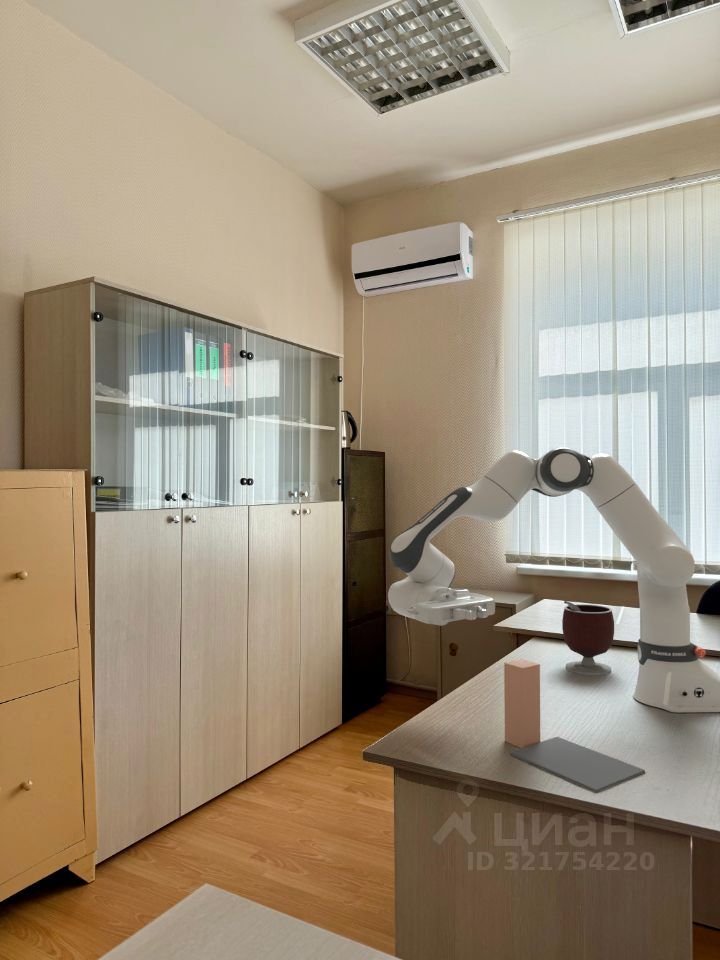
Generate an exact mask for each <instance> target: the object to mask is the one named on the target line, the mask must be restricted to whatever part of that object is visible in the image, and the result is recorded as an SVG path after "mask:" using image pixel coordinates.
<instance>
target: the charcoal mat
mask: <svg viewBox="0 0 720 960" xmlns="http://www.w3.org/2000/svg"><path fill="white" fill-rule="evenodd" d="M508 754H509V756H511V757H514V758H516V759H518V760H521V761H523V762H525V763H527V764H530V765H532V766H534V767H536V768H539V769H541V770H544V771H546V772H548V773H551V774H553V775H555V776H557V777H560V778H562V779H564V780H566V781H569V782H571V783H573V784H576V785H578V786H580V787H582V788H585V789H587V790H589V791H591V792H594V793H600V792H601V791H605V790H606V789H609V788H612V787H614V786H616V785H618V784H621V783H623V782H626V781H628V780H631V779H633V778H636V777H637V776H638V777H639V776H640V775H643V774H645V773H646V770H645V769H644V768H641V767H639V766H635V765H633V764H630V763H627V762H625V761H622V760H620V759H618V758H615V757H612V756H610V755H607V754H604V753H602V752H598V751H596V750H594V749H591V748H589V747H587V746H584V745H580V744H578V743H575V742H572V741H569V740H567V739H564V738H561V737H559V736H554V737H552V738H549V739H546V740H542V741H540V742H539V743H536V744H533V745H530V746H527V747H523V748H520V747H519V748H518V749H515V750H512V751H508Z"/></svg>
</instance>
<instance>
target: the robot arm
mask: <svg viewBox="0 0 720 960" xmlns="http://www.w3.org/2000/svg"><path fill="white" fill-rule="evenodd" d="M574 490H577V491H580V492H582V494H583V493H584V495H586V497H588V498H589V500H590V501H591V502H592V504H593V506H594V507H595V508H596V510H597V511H598V512H599V514H600V515H601V516H602V518H603V519H604V521H605V522H606V523H607V525H608V527H610V529H611V530H612V532H613V533H614V535H616V537H617V538H618V539H619V541H620V542H621V543H622V545H623V546H624V547H625V548H626V550H627V551H628V553H630V555H631V556H632V558H633V559H634V560H635V561H636V574H637V588H638V599H639V601H638V602H639V620H640V621H639V639H638V640H637V641H638V644H637V661H638V663H639V665H638V674H637V678H636V679H637V680H636V684H635V689H634V692H633V695H632V697H633V698H634V700H635V701H638V702H640V703H642V704H644V705H648V706H651V707H654V708H655V707H656V708H659V709H663V710H665V711H667V712H670V713H720V675H719V674H718V673H717V672H716V671H714V670H713V669H712V668H711V667H709V665H707V664H706V663H704V662H703V661H702V660H701V659H699V658H704V657H705V656H706V653H707V652H706V650H704V648H703V647H700V646H698V645H696V644H694V643H693V642H691V610H690V606H689V599H688V592H687V583H688V582H689V581H690V580H691V579H692V578H693V576H694V574H695V570H696V562H695V559H694V555H693V554H692V552H691V551H690V549H689V548H688V547H687V546H686V545H685V543H684V542H683V541H682V540H681V538H680V537H679V536H678V535H677V533H676V532H675V531H674V530H673V528H672V527H671V526H670V525H669V523H668V522H667V521H666V520H665V519H664V517H662V515H661V514H660V513H659V512H658V511H657V509H656V508H655V507H654V506H653V504H652V503H651V501H650V500H649V498H647V496H646V494H645V493H644V492H643V490H642V489H641V488H640V487H639V485H638V483H636V481H635V480H634V479H633V478H632V476H631V475H630V474H629V473H628V471H626V469H625V468H624V467H623V466H622V465H621V464H620V463H619V462H618V461H617V460H616V459H615V458H613V457H612V456H611V455H609V454H607V453H596V454H594V455H592V456H587V455H584V454H583V453H581V452H578V451H577V450H574V449H572V448H568V447H556V448H553V449H550V451H548V452H546V453H545V454H543V455H542V456H541V457H539V458H533V457H531V456H529V455H528V454H527V453H525V452H524V451H520V450H510V451H507V452H506V453H504V455H502V456H501V457H500V458H499V459H497V461H496V462H494V463H493V464H492V465H491V466H490V467H489V468H488V469H487V470H486V471H485V472H484V474H483V475H482V476H481V477H480V478H479V479H478V480H477V481H476V482H474V483H472V484H471V485H469V486H467V487H466V486H460V487H458V488H456V489H454V490H452V491H451V492H450V493H449V494H447V495H446V496H445V497H444V498H442V500H440V501H439V502H438V503H437V504H436V505H435V506H433V507H432V508H431V509H430V510H428V511H427V512H426V513H425V514H424V515H422V517H421V518H420V519H418V520H417V521H416V522H415V523H414V524H413V525H411V526H410V527H408V528H407V529H405V530H404V531H402V532H400V533H399V534H398V535H396V536H395V537H394V539H393V540H392V542H391V543H390V546H389V560H390V563H391V565H392V566H393V567H395V568H396V569H398V570H399V571H400V572H402V573H403V574H406V575H407V577H405V578H404V579H401V580H399V581H396V582H394V583H392V584H391V585H390V587H389V589H388V593H387V600H388V602H389V606H390V607H391V609H392V610H393V611H394V612H396V613H397V614H399V615H400V616H404V617H406V618H409V619H414V620H417V621H419V622H420V623H425V624H428V625H437V626H445V625H447V624H449V623H450V622H455V621H461V620H467V621H468V620H469V621H472V620H473V621H474V620H476V619H477V618H480V619H484V618H488V617H489V616H493V615H494V614H495V613H496V602H495V599H494V598H493V597H490V596H487V595H484V594H480V593H475V592H470V590H469V589H466V588H451V587H452V585H453V583H454V580H455V576H456V568H455V567H456V566H455V564H454V562H453V561H452V560H451V559H450V558H449V557H447V555H445V554H444V553H443V552H442V551H440V550H439V549H438V548H437V547H436V546H434V545H433V543H431V541H432V540H431V539H433V538H434V537H435V536H436V535H437V534H438V533H440V531H442V530H443V529H444V528H445V527H446V526H448V525H449V524H450V523H451V522H452V521H453V520H455V519H457V518H459V517H468V518H471V519H475V520H478V521H481V522H486V523H488V522H492V523H493V522H499V521H502V520H503V519H505V518H506V517H507V516H508V515H509V514H511V512H512V511H513V510H514V509H515V507H516V506H517V505H518V504H519V503H520V501H522V499H523V498H524V496H525V495H527V493H529V492H531V491H534V492H536V493H539V494H541V495H544V496H546V497H552V498H554V497H555V498H556V497H561V496H564V495H567V494H569V493H572V492H573V491H574Z"/></svg>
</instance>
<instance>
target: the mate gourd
mask: <svg viewBox="0 0 720 960" xmlns="http://www.w3.org/2000/svg"><path fill="white" fill-rule="evenodd" d="M563 603H564V604H566V605H565V606H564V609H563V613H562V620H561V622H562V625H561V626H562V627H561V628H562V636H563V639H564V643H565V645H566V646H567V647H568V649H569V650H570V651H572V652H574V653H576V654H578V655H580V656H581V657H582V659H581V660H577V661H576V660H575V661H569V662H567V663H566V664H565V669H566V670H567V671H568V672H570V671H571V673H573V672H574V673H573V674H579V675H583V674H584V675H583V676H605V675H609V674H611V673H612V667H611V666H609V665H608V664H605V663H601V662H597V661H595V659H594V657H597V656H600V655H602V654H605V653H607V652H608V651H609V649H611V647H612V645H613V642H614V637H615V619H614V613H613V609H612V608H611V607H608V606H603V605H597V604H585V603H582V604H574V603H572V602H571V601H567V600H564V601H563Z"/></svg>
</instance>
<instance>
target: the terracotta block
mask: <svg viewBox="0 0 720 960" xmlns="http://www.w3.org/2000/svg"><path fill="white" fill-rule="evenodd" d="M503 669H504V671H503V672H504V673H503V674H504V675H503V676H504V678H503V679H504V685H503V686H504V742H507V743H509V744H510V745H513V746H516V747H518V748H519V749H520V748H523V747H527V746H530V745H533V744H536V743H539V742H541V664H540V663H536V662H533V661H529V660H525V659H523V658H522V659H515V660H511V661H507V662H504V665H503Z"/></svg>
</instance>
